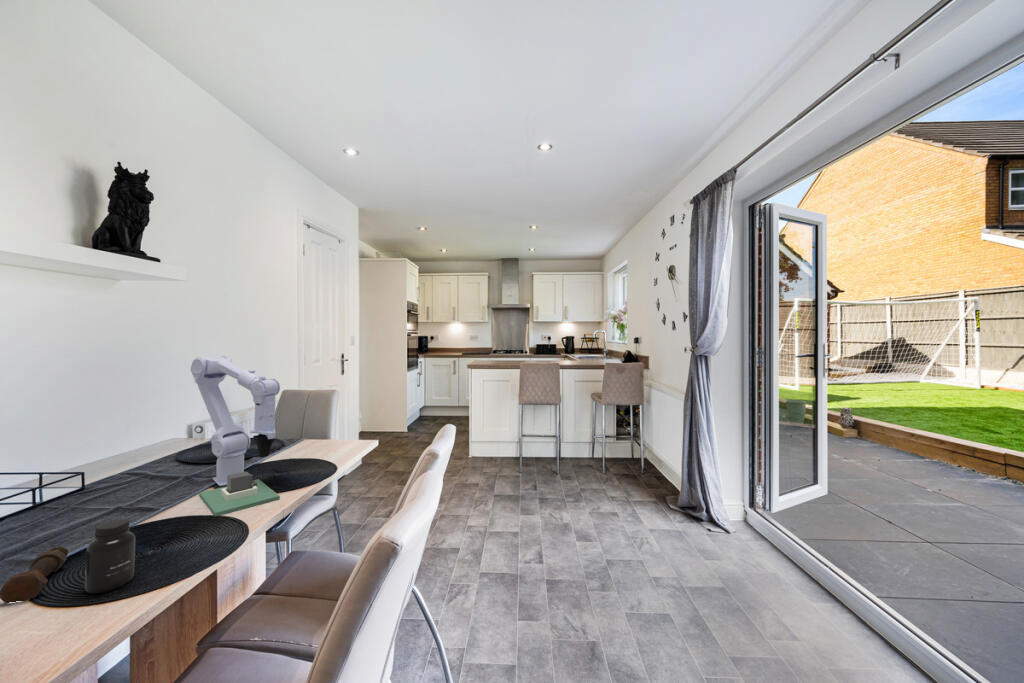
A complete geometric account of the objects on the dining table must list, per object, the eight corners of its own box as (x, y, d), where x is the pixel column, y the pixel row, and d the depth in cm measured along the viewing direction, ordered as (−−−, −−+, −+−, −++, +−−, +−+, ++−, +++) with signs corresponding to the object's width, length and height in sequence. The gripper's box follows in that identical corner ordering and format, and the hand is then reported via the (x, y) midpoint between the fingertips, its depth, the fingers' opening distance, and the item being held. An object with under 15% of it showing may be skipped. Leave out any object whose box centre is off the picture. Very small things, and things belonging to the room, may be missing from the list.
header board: (199, 495, 119) (199, 486, 119) (258, 482, 131) (258, 473, 131) (215, 516, 106) (215, 506, 106) (279, 499, 118) (279, 490, 118)
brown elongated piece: (62, 569, 84) (26, 608, 71) (33, 563, 82) (-11, 603, 69) (82, 542, 86) (50, 576, 73) (54, 536, 83) (15, 570, 71)
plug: (227, 494, 118) (227, 475, 118) (249, 489, 122) (249, 470, 122) (230, 498, 115) (230, 478, 115) (253, 493, 119) (253, 473, 119)
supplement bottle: (119, 591, 74) (121, 530, 74) (74, 597, 72) (76, 534, 72) (142, 571, 81) (143, 514, 81) (101, 575, 79) (102, 518, 79)
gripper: (244, 414, 129) (243, 454, 129) (258, 420, 120) (257, 464, 120) (267, 411, 135) (267, 450, 135) (283, 417, 125) (282, 459, 125)
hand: (264, 456), depth 128 cm, fingers closed
